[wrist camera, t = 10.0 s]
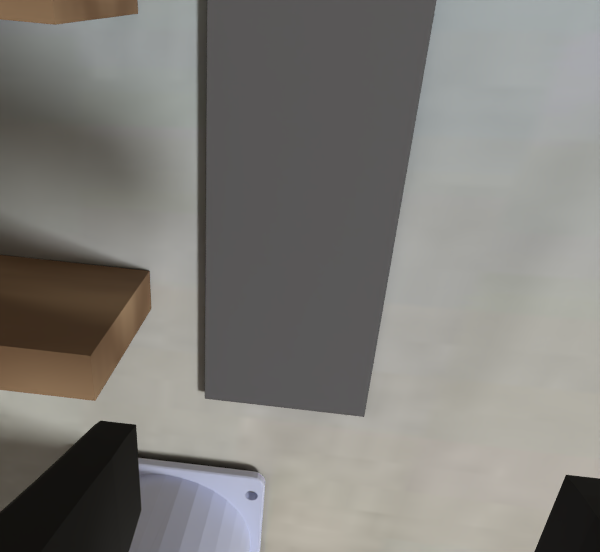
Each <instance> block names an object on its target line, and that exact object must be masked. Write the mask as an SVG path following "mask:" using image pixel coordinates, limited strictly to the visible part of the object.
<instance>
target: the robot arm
mask: <svg viewBox="0 0 600 552" xmlns="http://www.w3.org/2000/svg"><path fill="white" fill-rule="evenodd" d="M249 491H253V492H255V493H252V492H249ZM264 492H265V478H264V477H263V475H261V474H260V473H258V472H254V471H247V470H238V469H230V468H221V467H213V466H204V465H196V464H187V463H179V462H170V461H162V460H153V459H145V458H138V448H137V433H136V425H133V424H124V423H116V422H107V421H100V422H98V423H97V424H95V425H94V426H93V427H92V428H91V429H90V430H89V431H88V432H87V433H86V434H85V435H84V436H83V437H81V438H80V439H79V440H78V441H77V442H76V443H75V444H74V445H73V446H72V447H71V448H70V449H69V450H68V451H67V452H66V453H65V454H64V455H63V456H61V457H60V458H59V459H58V460H57V461H56V462H55V463H54V464H53V465H52V466H51V467H50V468H49V469H48V470H46V471H45V472H44V473H43V474H42V475H41V476H40V477H39V478H38V479H37V480H36V481H35V482H34V483H32V484H31V485H30V486H29V487H28V488H27V489H26V490H25V491H23V492H22V493H21V494H20V495H19V496H18V497H17V498H16V499H14V500H13V501H12V502H11V503H10V504H9V505H8V506H7V507H5V508H4V509H3V510H2V511H1V512H0V552H260V546H261V533H262V519H263V506H264ZM535 552H600V479H598V478H589V477H580V476H572V475H566V476H565V479H564V481H563V484H562V486H561V488H560V491H559V493H558V496H557V498H556V501H555V503H554V505H553V508H552V510H551V513H550V515H549V518H548V520H547V523H546V525H545V527H544V530H543V532H542V535H541V537H540V540H539V542H538V544H537V547H536V549H535Z"/></svg>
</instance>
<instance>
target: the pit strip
mask: <svg viewBox="0 0 600 552" xmlns="http://www.w3.org/2000/svg"><path fill="white" fill-rule="evenodd" d="M435 5H436V0H207V132H206V293H205V399H214V400H222V401H231V402H240V403H249V404H257V405H266V406H275V407H284V408H292V409H301V410H310V411H319V412H327V413H336V414H345V415H354V416H362V417H364V414H365V409H366V403H367V397H368V391H369V386H370V380H371V374H372V368H373V363H374V357H375V351H376V345H377V339H378V334H379V328H380V322H381V316H382V311H383V305H384V299H385V293H386V288H387V282H388V276H389V270H390V265H391V259H392V253H393V247H394V242H395V236H396V230H397V224H398V219H399V213H400V207H401V201H402V195H403V190H404V184H405V178H406V172H407V167H408V161H409V155H410V149H411V144H412V138H413V132H414V126H415V121H416V115H417V109H418V103H419V98H420V92H421V86H422V80H423V74H424V69H425V63H426V57H427V51H428V46H429V40H430V34H431V28H432V23H433V17H434V11H435Z"/></svg>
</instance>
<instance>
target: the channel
mask: <svg viewBox="0 0 600 552" xmlns="http://www.w3.org/2000/svg"><path fill="white" fill-rule="evenodd" d="M131 14H138V4H137V0H0V19H3V20H13V21H24V22H34V23H44V24H63V23H70V22H78V21H85V20H93V19H101V18H108V17H116V16H123V15H131ZM150 310H151V293H150V271H145V270H136V269H127V268H117V267H108V266H99V265H90V264H80V263H71V262H62V261H53V260H43V259H34V258H25V257H16V256H7V255H0V390H7V391H16V392H24V393H33V394H42V395H51V396H59V397H68V398H77V399H85V400H94V401H95V400H96V399H97V397H98V395H99V394H100V392H101V390H102V389H103V387H104V385H105V384H106V382H107V381H108V379H109V377H110V376H111V374H112V372H113V371H114V369H115V367H116V366H117V364H118V362H119V361H120V359H121V358H122V356H123V354H124V353H125V351H126V349H127V348H128V346H129V344H130V343H131V341H132V339H133V338H134V336H135V335H136V333H137V331H138V330H139V328H140V326H141V325H142V323H143V321H144V320H145V318H146V316H147V315H148V313H149V312H150Z"/></svg>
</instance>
